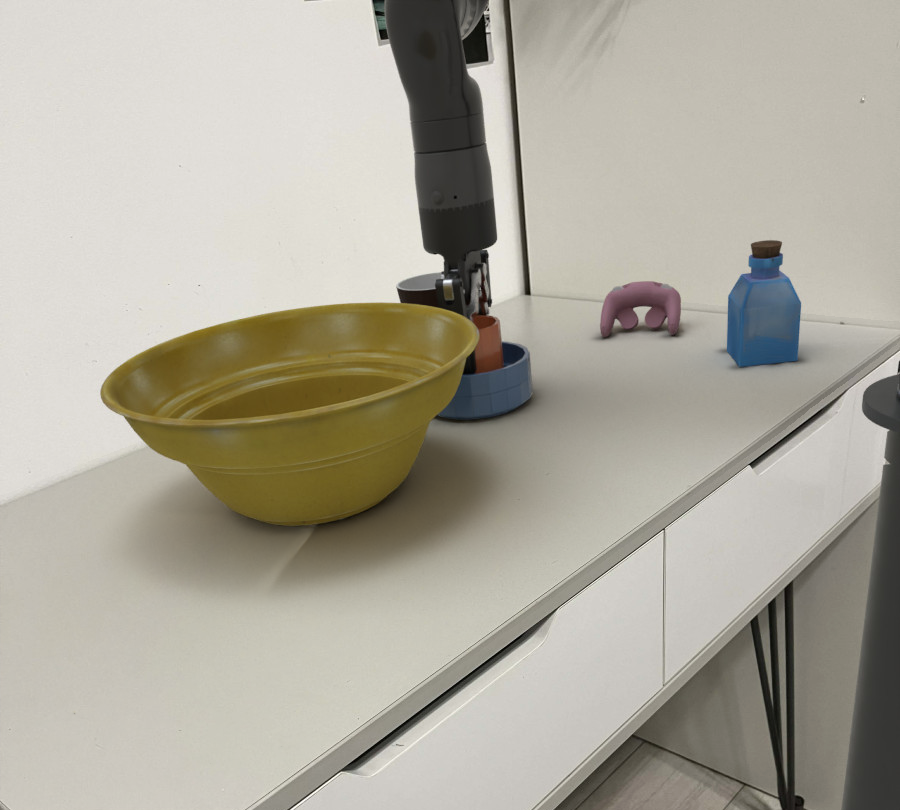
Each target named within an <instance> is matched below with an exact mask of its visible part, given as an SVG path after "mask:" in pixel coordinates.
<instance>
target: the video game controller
mask: <svg viewBox="0 0 900 810" xmlns="http://www.w3.org/2000/svg"><path fill="white" fill-rule="evenodd" d="M639 307H640V308H641V307H647V308H650V309H648V310H647V312H646V313H645V316H644V323H645V325H646V326H647V327H648V328H649V329H650V330H658V329H660V328H661V327H662V326H663V325H664V323H665V321H667V328H668V332H669V334H670V335H671V336H675V335H676V334H677V332H678V330H679V327H680V322H681V316H682V315H681V314H682V298H681V295H680V293H679V291H678V290H677V289H676V288H675V287H673V286H671V285H669V284H668V283H662V282H657V281H653V280H651V281H650V280H646V281H645V280H644V281H632V282H629V283H626V284H623V285H618V286H614V287H613V288H612V289H611V290H610V291H609V292H608V293H607V295H606V296H605V298H604V301H603V304H602V307H601V312H600V323H599V329H600V334H601V336H602V337H603V338H607V337H609V335H610V334H611V332H612V331H613V327H614V325H615V321H616V320H617V321H618V322H619V324H620V325H621V327H622V328H623V329H624V330H626V331H631V330H634V329H636V328H637V326H638V325H639V316H638V314H637V312H636V311H635V310H634V309H635V308H639Z"/></svg>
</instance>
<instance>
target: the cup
mask: <svg viewBox="0 0 900 810" xmlns="http://www.w3.org/2000/svg"><path fill="white" fill-rule="evenodd" d="M473 323H474V324H475V326H476V327H477V328H478V331H479V334H480V335H479V341H478V344H477V346H476V348H475V357H476V367H477V370H476V372H475V373H474V374H477V373H484V372H489V371H493V370H497V369H501V368H504V361H503V350H502V341H503V340H502V331H501V330H502V329H501V321H500V319H499V318H498V317H496V316H494V315H489V316H488V315H477V316H475V317H474V322H473Z"/></svg>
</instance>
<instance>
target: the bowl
mask: <svg viewBox="0 0 900 810" xmlns="http://www.w3.org/2000/svg"><path fill="white" fill-rule="evenodd" d="M502 350H503V361H504V368H501V369H497V370H493V371H489V372H484V373H477V374H469V375H462V377H461V380H460V383H459V386H458V388H457V391H456V393H455V395H454V397H453V398H452V400H451V401H450V403H449V404H448V405H447V406H446V407H445V408H444V409H443V410H442V411H441V412H440V413H439V414H437V415H436V416H438V417H441V418H444V419H449V420H458V421H459V420H463V421H464V420H465V421H466V420H467V421H468V420H481V419H487V418H493V417H497V416H499V415H503V414H508V413H509V412H511V411H513V410H516V409H518V408H519V407H520V406H522V405H523V404H525V403H526V402H527V401H528V400H530V399H531V397H532V395H533V393H534V388H533V376H532V366H531V353H530V351H529V349H528V347H526V346H524V345H523V344H521V343H517V342H512V341H505V340H504V341H503V340H502Z"/></svg>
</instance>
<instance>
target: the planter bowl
mask: <svg viewBox="0 0 900 810" xmlns="http://www.w3.org/2000/svg"><path fill="white" fill-rule="evenodd" d="M479 335H480V334H479V331H478V328H477V327H476V326H475V324H474V323H473V322H472V321H470V320H469V319H467V318H466V317H464V316H462V315H460V314H457V313H455V312H452V311H449V310H445V309H441V308H437V307H432V306H425V305H418V304H407V303H400V302H348V303H334V304H321V305H314V306H313V305H312V306H306V307H305V306H304V307H298V308H291V309H284V310H278V311H273V312H266V313H262V314H257V315H256V314H255V315H253V316H247V317H242V318H239V319H234V320H230V321H226V322H222V323H218V324H215V325H211V326H207V327H203V328H201V329H197V330H194V331H191V332H187V333H185V334H182V335H179V336H176V337H173V338H170V339H168V340H165V341H163V342H161V343H158V344H156V345H154V346H151V347H149V348H147V349H145V350H143V351H141V352H139V353H136V354H135V355H133V356H131V357H130V358H128V359H127V360H126V361H124V362H123V363H122V364H120V365H119V366H117V367H116V368H115V369H114V370H113V371H112V372H110V373H109V375H108V376H106V378H105V380H104V381H103V383H102V384H101V388H100V390H99V392H100V393H99V394H100V399H101V401H102V403H103V404H104V406H105V407H107V409H109V410H110V411H112V412H114V413H115V414H117V415H119V416H122V417H123V418H124V419H125V421H126V422H127V424H128V425H129V426H130V428H131V429H132V431H134V432H135V434H136V435H137V436H138V437H139V438H140V439H141V440H142V441H143V443H145V445H147V446H148V447H149V448H150V449H151V450H153V451H154V453H155V452H156V453H157V454H159V455H161V456H163V457H164V458H167V459H170V460H172V461H175V462H179V463H181V464H183V465H186V467H187V468H188V470H189V471H190V472H191V473H192V474H193V475H194V476H195V477H196V479H197V480H198V481H199V482H200V483H201V484H202V485H203V487H205V488H206V489H207V491H209V492H210V493H211V494H212V495H214V497H216V498H217V500H219V501H220V502H221V503H222V504H224V505H225V506H226V507H227V508H228V509H230V510H232V511H234V512H235V513H236V514H240V515H242V516H244V517H247V518H251V519H254V520H256V521H258V522H259V521H260V522H261V523H266V524H270V525H276V526H290V527H291V526H292V527H297V526H312V525H319V524H326V523H330V522H335V521H338V520H341V519H346V518H350V517H351V516H354V515H357V514H360V513H362V512H364V511H367V510H369V509H371V508H372V507H374V506H376V505H377V504H379V503H380V502H382V501H383V500H384V499H386V498H387V497H388V496H389V495H390V494H391V493H392V492H394V491H395V490H396V489H397V488H399V487H400V485H401V484H403V482H404V481H405V480H406V478H407V477H408V475H409V473H410V471H411V469H412V467H413V465H414V464H415V462H416V460H417V457H418V455H419V453H420V452H421V451H420V450H421V449H422V446H423V444H424V441H425V438H426V435H427V432H428V430H429V426H430V424H431V421H433V419H434V418H435V417H436V416H438V415H437V414H439V413H440V412H441V411H442V410H443V409H444V408H445V407H446V406H447V405H448V404H449V403H450V401H451V400H452V398H453V397H454V395H455V393H456V391H457V388H458V386H459V383H460V380H461V377H462V374H463V370H464V366H465V362H466V358H467V357H468V356H469V355H470V354H471V353H472V352H473V350H474V349H475V348H476V346H477V344H478V341H479Z"/></svg>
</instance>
